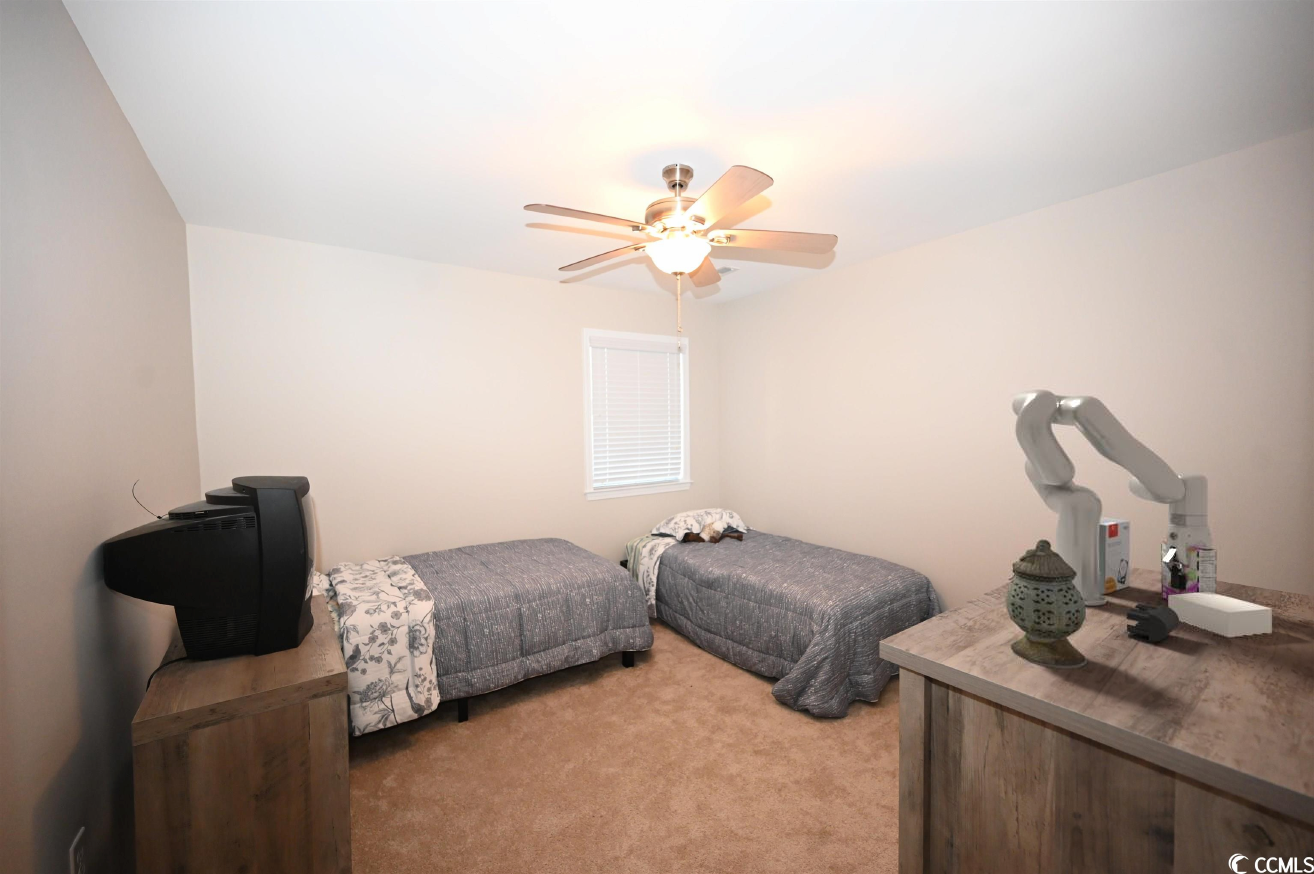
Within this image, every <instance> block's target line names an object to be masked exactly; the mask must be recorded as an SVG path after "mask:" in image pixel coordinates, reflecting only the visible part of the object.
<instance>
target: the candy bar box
mask: <svg viewBox="0 0 1314 874" xmlns="http://www.w3.org/2000/svg"><path fill="white" fill-rule="evenodd" d="M1160 541H1161V544H1160V545H1161V547H1160V548H1161V550H1160V551H1161V553H1160V555H1161V557H1160V558H1161V559H1160V562H1161V563H1160V565H1161V571H1160V573H1161V579H1160V580H1161V583H1160V584H1161V599H1164V600H1166V601H1168V595H1176V594H1188V593H1199V592H1212V593H1215V594H1217V548H1214V547H1212V548H1210V547H1206V546H1198V547H1192V548H1191V549H1190V557H1191V565H1185V571H1184V575H1186V590H1179V589H1175V588H1172V587H1171V573H1170V572H1169V569H1168V568H1167V566H1166V565H1165V564H1164V563H1163V560H1164V559H1165V557H1166V539H1161V540H1160ZM1177 562H1179V560H1177ZM1176 566H1177V567H1178V568H1180V565H1177V564H1176Z"/></svg>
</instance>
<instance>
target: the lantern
mask: <svg viewBox="0 0 1314 874" xmlns="http://www.w3.org/2000/svg"><path fill="white" fill-rule="evenodd" d="M1011 565H1012V566H1011V567H1012V573H1013V575H1012V577H1011V578H1008V581H1010V583H1009V585H1008V587H1007V589H1006V591H1005V606H1006V611H1007V612H1008V615H1009V618H1010V620H1011V621H1012V622H1013V623H1014V624H1015V625H1016V626H1017V627H1018V628H1019V629H1021V631H1022V632H1024V633H1025V634H1024V635H1022V636H1021V638H1020V639H1018V640H1016V641H1014V642H1012V643H1011V644H1010V650H1012V651H1013V652H1014V653H1015V654H1016V655H1017V656H1016V655H1015V654H1014V653H1013V652H1012V651H1011V652H1012V653H1013V654H1014V655H1015V656H1016V657H1018V656H1019V657H1018V658H1020V657H1021V658H1023V659H1022V660H1024V659H1025V660H1024V661H1026V660H1027V661H1026V662H1029V663H1032V664H1035V663H1036V664H1035V665H1038V664H1039V665H1038V666H1042V665H1043V667H1047V666H1049V667H1048V668H1053V667H1054V669H1061V670H1064V669H1065V670H1070V669H1080V668H1084V667H1085V666H1086V665H1087V663H1088V661H1087V657H1086V655H1084V654H1083V653H1082V652H1080V651H1079V650H1078V649H1077V648H1076V647H1075V646H1074V645H1073V644H1072V643H1071V642H1070V641H1069V639H1068V637H1070V636H1072V635H1073V634H1075V633H1076V632H1078V631H1079V630H1080V629H1081V628H1082V626H1083V623H1084V621H1085V620H1086V618H1087V617H1086V616H1087V615H1086V613H1087V612H1086V610H1087V607H1086V606H1087V605H1085V603H1084V600H1083V598H1082V596H1081V593H1080V592H1079V591H1078V589H1077V588H1076V587H1075V585H1074V584H1073V583H1072V581H1073V580H1074V578H1075V576H1076V575H1077V573H1076V571H1074V569H1073V568H1072V567H1071V566H1070V565H1068V564H1067V563H1066V562H1065V561H1064V560H1063V559H1062V557H1061V556H1060V555H1059V554H1058V553H1056V551H1054V550H1053V549H1052V544H1051V542H1050V541H1049V540H1047V539H1040V540H1038V541H1037V542H1036V545H1035V548H1034V549H1033V548H1032V549H1030V548H1029V549H1027V550H1026V551H1025V554H1024V555H1022V556H1020V557H1019V558H1018V560H1017V561H1015V562H1013V563H1012V564H1011ZM1021 658H1020V659H1021Z"/></svg>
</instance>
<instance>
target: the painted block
mask: <svg viewBox="0 0 1314 874" xmlns="http://www.w3.org/2000/svg"><path fill="white" fill-rule="evenodd" d="M1167 601H1168V602H1167V603H1168V606H1167V607H1169V608H1171V609H1172V610H1174V611H1175V612H1176V614H1177V615H1178V617H1179V622H1180V621H1181V623H1183V622H1186V623H1188V624H1187V625H1189V624H1190V626H1192V625H1194V626H1193V627H1195V626H1197V627H1196V628H1198V627H1199V629H1201V628H1202V630H1204V629H1206V630H1205V631H1207V630H1208V632H1211V631H1212V633H1214V632H1215V633H1214V634H1217V633H1218V634H1217V635H1220V634H1221V635H1220V636H1223V635H1224V636H1223V637H1226V636H1227V637H1226V638H1235V637H1236V636H1237V637H1244V636H1243V635H1247V636H1254V635H1253V634H1257V635H1263V634H1262V633H1267V634H1273V633H1272V632H1273V625H1272V624H1273V608H1271V607H1267V606H1263V605H1260V604H1257V603H1252V602H1250V601H1246V600H1241V599H1238V598H1234V597H1230V596H1227V595H1222V594H1218V593H1216V594H1215V593H1212V592H1199V593H1188V594H1176V595H1168V600H1167ZM1186 623H1185V624H1186ZM1237 637H1236V638H1237Z"/></svg>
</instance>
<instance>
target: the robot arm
mask: <svg viewBox="0 0 1314 874" xmlns="http://www.w3.org/2000/svg"><path fill="white" fill-rule="evenodd" d="M1014 397H1015V398H1014V399H1013V401H1012V404H1011V407H1012V412H1013V413H1014V414H1015V416H1017V417H1016V421H1015V435H1016V436H1015V437H1016V439H1017V442H1018V445H1019V446H1020V448H1021V450H1022V451H1023V453H1024V455H1025V457H1026V459H1025V462H1024V472H1025V473H1026V476H1027V477H1028V480H1029V481H1030V483H1031V484H1032V486H1033V487H1034V489H1035V491H1036V492H1037V493H1038V495H1039V497H1040V498H1041V500H1042V501H1043V502H1044V504H1045V506H1047V508H1048V509H1049V510H1050V511H1052V512H1054V513H1056V514H1057V515H1058V519H1057V523H1056V524H1057V525H1056V532H1055V533H1056V534H1055V535H1056V536H1055V542H1056V543H1055V544H1056V551H1055V552H1056V553H1058V554H1059V555H1060V556H1061V557H1062V559H1063V560H1064V561H1065V562H1066V563H1067V564H1068V565H1070V566H1071V567H1072V568H1073V569H1074V571H1076V573H1077V575H1076V576H1075V578H1074V580H1073V581H1072V583H1073V584H1074V585H1075V587H1076V588H1077V589H1078V591H1079V592H1080V593H1081V596H1082V598H1083V600H1084V603H1085V605H1086V606H1103V605H1105V604H1107V597H1106V596H1105V595H1104V594H1100V593H1099V527H1100V520H1101V517H1102V514H1103V504H1102V503H1103V502H1102V500H1101V498H1100V496H1099V495H1098V494H1097V493H1096V492H1095V491H1093V490H1092V489H1090V488H1088V487H1086V486H1083V485H1078V484H1076V483H1075V482H1074V478H1075V475H1076V467H1075V465H1074V463H1073V461H1072V459H1071V458H1070V457H1069V456H1068V454H1067V452H1066V451H1065V450H1064V448H1063V447H1062V445H1061V444H1060V442H1059V441H1058V439H1057V437H1056V436H1055V433H1054V432H1053V429H1052V428H1053V427H1052V425H1059V426H1070V427H1071V426H1072V427H1075V428H1076V429H1077V430H1078V431H1079V433H1081V435H1082V437H1084V438H1085V439H1086V440H1087V441H1088V442H1089V444H1090V445H1091V446H1092V447H1093V448H1094V449H1095V451H1096V452H1097V453H1098V454H1099V455H1100V456H1102V457H1104V458H1105V459H1107V460H1108V461H1110V462H1112V463H1115V464H1117V465H1119V466H1120V467H1122V468H1124V470H1126V471H1127V472H1129V473H1130V474H1131V475H1132V477H1131V478H1130V480H1129V481H1128V488H1129V491H1130V492H1131V493H1132V495H1134V496H1135V497H1137V498H1140V499H1142V500H1145V501H1149V502H1155V503H1158V504H1161V505H1168V527H1167V533H1166V539H1165V540H1166V557H1165V559H1164V560H1163V563H1164V564H1165V565H1166V566H1167V568H1168V569H1169V572H1170V573H1171V587H1172V588H1175V589H1179V590H1186V575H1184V571H1185V565H1191V557H1190V549H1191V548H1192V547H1198V546H1206V547H1210V548H1213V541H1212V534H1211V530H1210V526H1209V525H1208V523H1209V521H1208V520H1209V519H1208V518H1209V514H1208V513H1209V512H1208V510H1209V506H1208V504H1209V503H1208V502H1209V501H1208V500H1209V498H1208V497H1209V489H1208V488H1209V487H1208V485H1209V484H1208V481H1209V480H1208V478H1207V477H1206V476H1205V475H1203V474H1201V473H1200V474H1199V473H1183V472H1181V473H1176V472H1175V470H1173V468H1171V466H1170V465H1169V464H1168V463H1167V462H1166V461H1165V460H1164V459H1162V458H1161V457H1160V456H1159V455H1158V454H1157V453H1155V452H1154V451H1153V450H1151V449H1150V448H1149V447H1148V446H1146V445H1145V444H1144V443H1143V442H1141V441H1140V440H1139V439H1137V438H1135V436H1133V435H1132V434H1131V432H1129V431H1128V430H1127V429H1126V427H1125V426H1124V425H1123V423H1121V422H1120V421H1119V419H1118V418H1117V417H1116V416H1115V415H1114V414H1113V413H1112V412H1111V411H1110V409H1109V408H1108V407H1107V406H1106V405H1105V403H1103V402H1102V401H1101V399H1098V398H1097V397H1095V396H1092V395H1091V396H1090V395H1080V396H1078V395H1077V396H1070V395H1068V396H1066V395H1060V394H1059V395H1058V394H1057V395H1056V394H1055V393H1053V392H1052V391H1050V390H1047V389H1035V390H1028V391H1023V392H1021V393H1019V394H1018V395H1016V396H1014ZM1177 560H1179V562H1177ZM1176 564H1177V565H1180V568H1178V567H1177V566H1176Z"/></svg>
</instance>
